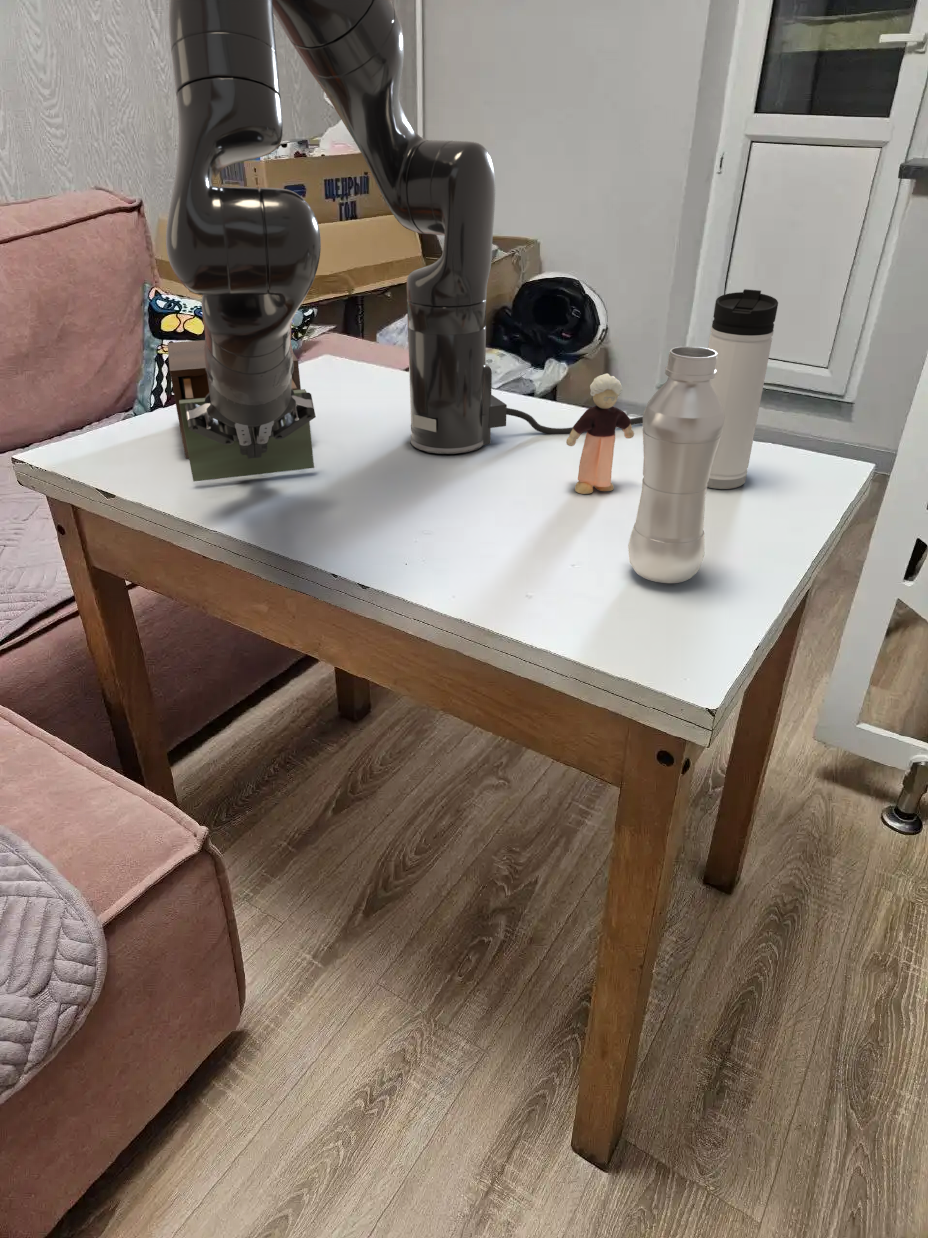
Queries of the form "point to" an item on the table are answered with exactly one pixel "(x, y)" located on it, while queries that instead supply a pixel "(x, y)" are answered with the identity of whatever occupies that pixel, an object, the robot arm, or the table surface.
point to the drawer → (227, 459)
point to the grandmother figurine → (599, 435)
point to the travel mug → (739, 377)
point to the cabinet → (196, 372)
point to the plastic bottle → (677, 468)
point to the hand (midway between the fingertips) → (252, 450)
